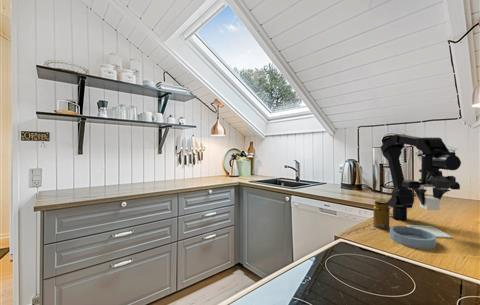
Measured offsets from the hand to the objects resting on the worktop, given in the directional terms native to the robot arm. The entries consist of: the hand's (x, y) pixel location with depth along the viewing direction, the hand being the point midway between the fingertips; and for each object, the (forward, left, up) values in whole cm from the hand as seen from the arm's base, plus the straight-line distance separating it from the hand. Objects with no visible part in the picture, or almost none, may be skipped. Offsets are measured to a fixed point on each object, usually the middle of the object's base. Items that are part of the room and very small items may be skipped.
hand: (429, 205), depth 94 cm
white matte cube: (0, 0, -1) cm, 1 cm away
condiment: (-4, -16, -12) cm, 20 cm away
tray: (-1, 0, -12) cm, 12 cm away
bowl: (+9, -12, -12) cm, 19 cm away
